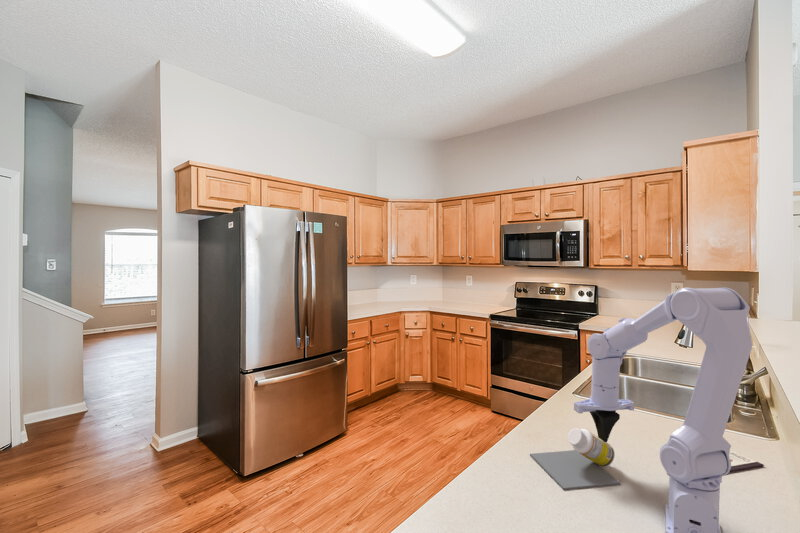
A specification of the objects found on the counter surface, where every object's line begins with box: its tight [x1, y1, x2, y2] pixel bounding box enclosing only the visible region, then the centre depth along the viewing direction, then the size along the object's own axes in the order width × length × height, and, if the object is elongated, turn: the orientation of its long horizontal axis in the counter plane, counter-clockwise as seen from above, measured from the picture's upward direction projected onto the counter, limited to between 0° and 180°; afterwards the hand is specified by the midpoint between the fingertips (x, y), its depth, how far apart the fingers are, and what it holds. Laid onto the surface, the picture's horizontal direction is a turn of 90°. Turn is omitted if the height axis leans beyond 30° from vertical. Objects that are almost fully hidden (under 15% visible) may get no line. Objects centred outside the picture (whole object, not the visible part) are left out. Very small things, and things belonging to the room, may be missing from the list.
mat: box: [529, 449, 621, 491], centre depth 86 cm, size 14×14×1 cm
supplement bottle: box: [567, 427, 615, 468], centre depth 87 cm, size 6×6×10 cm
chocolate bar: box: [728, 449, 765, 474], centre depth 90 cm, size 9×1×18 cm
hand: (602, 440), depth 88 cm, fingers closed, pressing on supplement bottle
